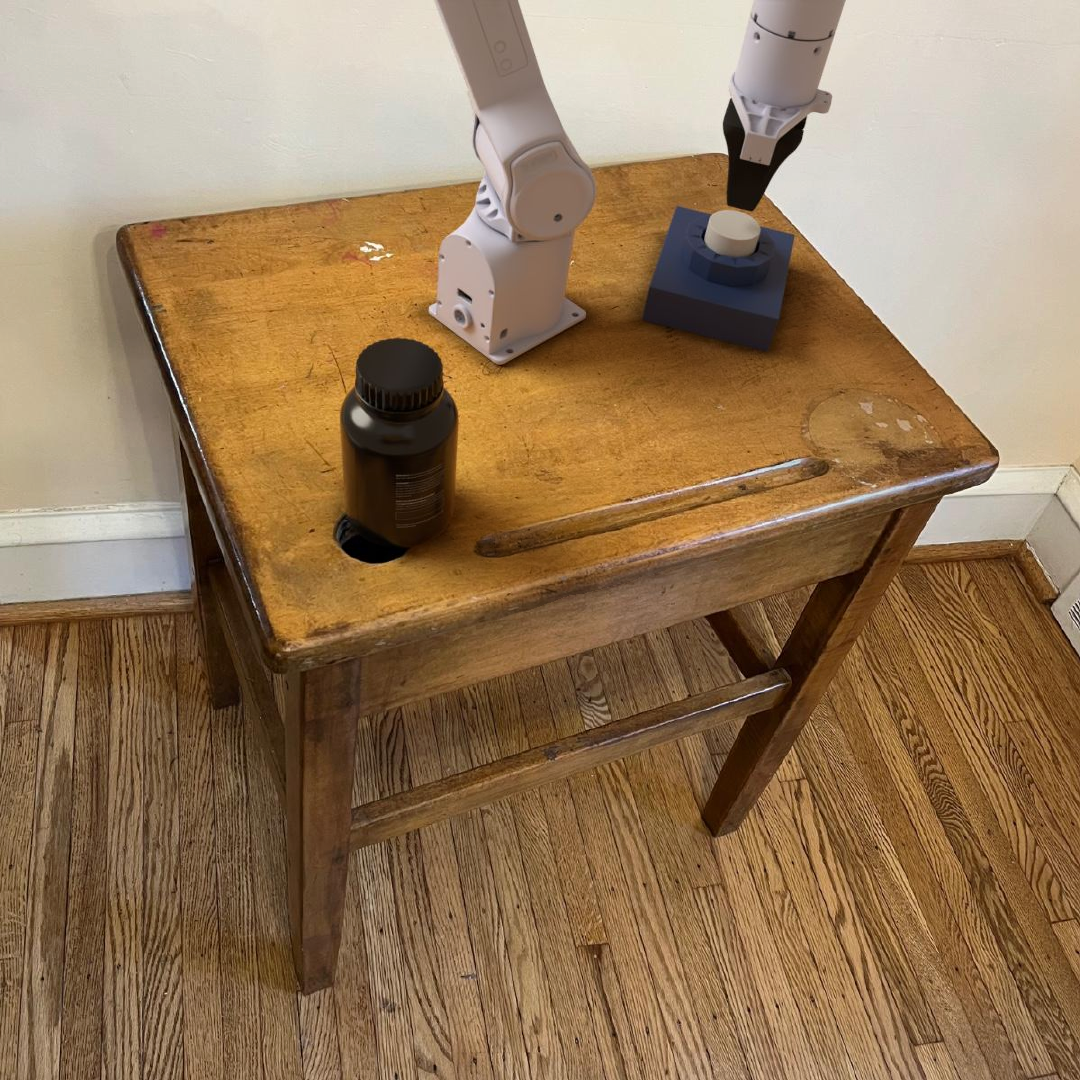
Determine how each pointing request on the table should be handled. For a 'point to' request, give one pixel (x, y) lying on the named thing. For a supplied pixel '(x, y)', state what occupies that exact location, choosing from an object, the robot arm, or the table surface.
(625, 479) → the table surface
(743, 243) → the cylinder
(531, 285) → the robot arm
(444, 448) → the supplement bottle
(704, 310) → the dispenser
